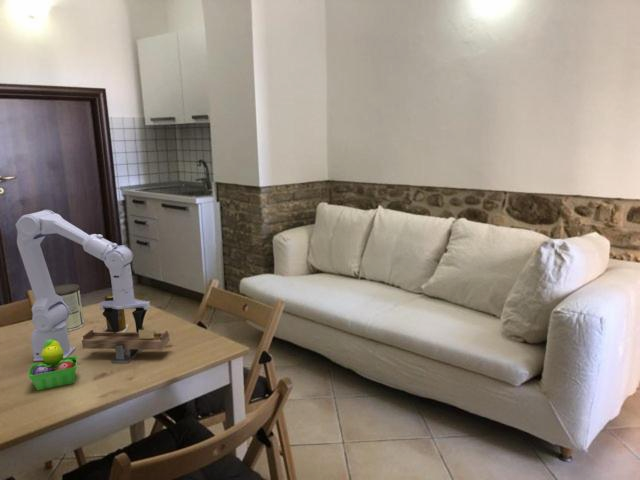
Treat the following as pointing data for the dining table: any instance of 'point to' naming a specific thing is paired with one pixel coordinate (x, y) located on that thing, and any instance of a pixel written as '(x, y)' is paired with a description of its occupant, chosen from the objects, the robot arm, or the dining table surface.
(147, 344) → the balance beam
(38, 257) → the robot arm
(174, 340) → the dining table surface
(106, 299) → the condiment
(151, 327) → the wooden cube block
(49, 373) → the fruit basket
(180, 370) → the dining table surface
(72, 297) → the coffee can
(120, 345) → the pivot stand
